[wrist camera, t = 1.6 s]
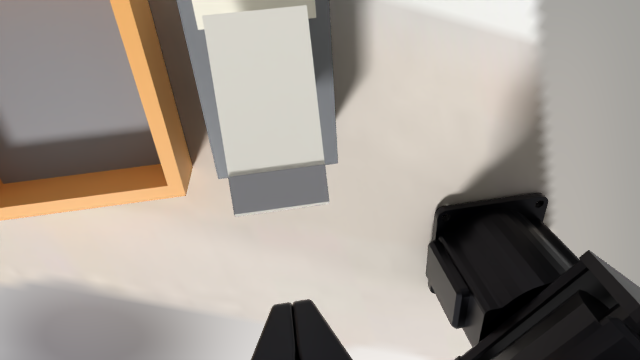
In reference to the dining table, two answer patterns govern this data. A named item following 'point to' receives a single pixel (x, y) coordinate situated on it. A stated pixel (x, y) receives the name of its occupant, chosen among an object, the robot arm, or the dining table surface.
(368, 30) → the dining table surface
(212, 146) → the breaker box
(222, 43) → the breaker rocker
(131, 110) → the orange square tray
